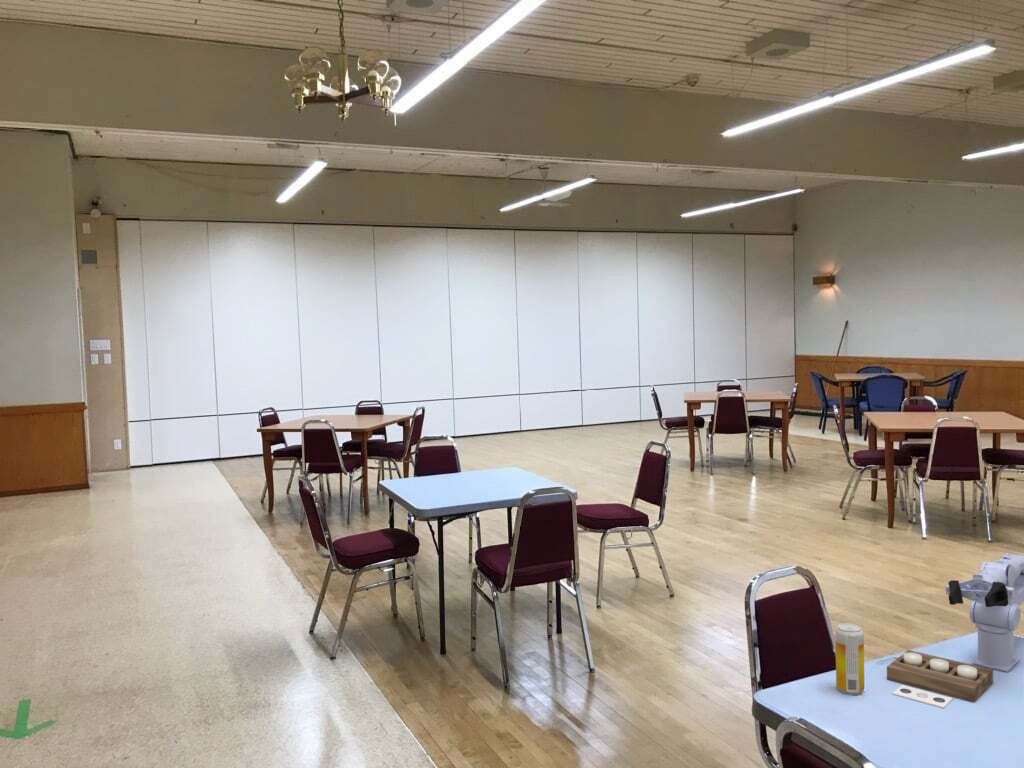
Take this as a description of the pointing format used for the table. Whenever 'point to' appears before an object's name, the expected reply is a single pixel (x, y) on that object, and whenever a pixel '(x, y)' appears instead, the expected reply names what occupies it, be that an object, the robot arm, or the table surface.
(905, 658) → the left button
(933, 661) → the middle button
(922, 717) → the table surface
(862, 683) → the beer can
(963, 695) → the button panel
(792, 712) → the table surface
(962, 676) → the right button
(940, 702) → the card
